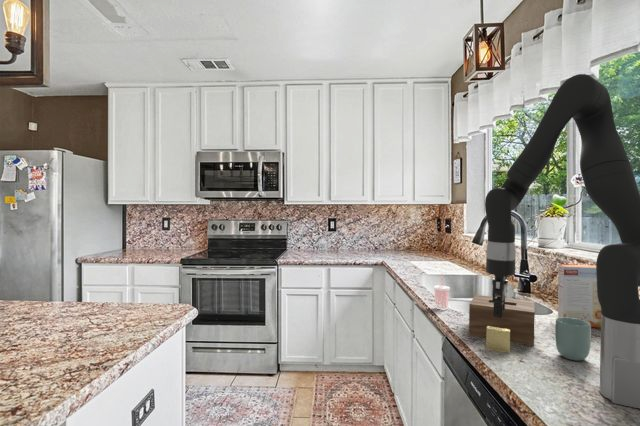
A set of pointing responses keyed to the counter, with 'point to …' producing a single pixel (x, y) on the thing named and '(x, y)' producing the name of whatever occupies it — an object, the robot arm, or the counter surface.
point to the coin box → (503, 318)
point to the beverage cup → (441, 295)
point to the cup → (573, 338)
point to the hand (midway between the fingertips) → (499, 313)
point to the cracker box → (578, 293)
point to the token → (498, 339)
